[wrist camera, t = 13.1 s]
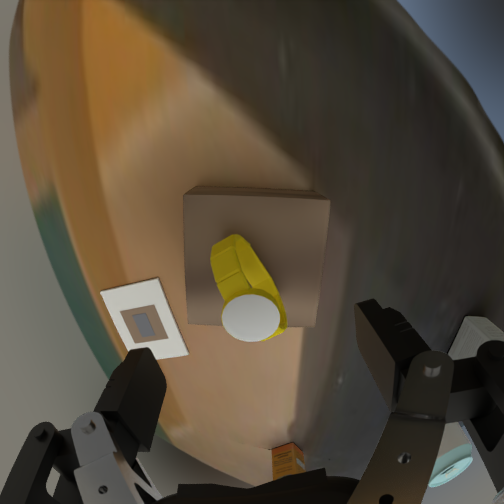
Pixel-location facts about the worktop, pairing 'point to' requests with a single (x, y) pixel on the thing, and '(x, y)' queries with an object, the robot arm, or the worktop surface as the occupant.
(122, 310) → the card
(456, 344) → the skincare box
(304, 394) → the worktop surface
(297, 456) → the supplement box
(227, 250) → the watch
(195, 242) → the walnut block
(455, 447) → the can
